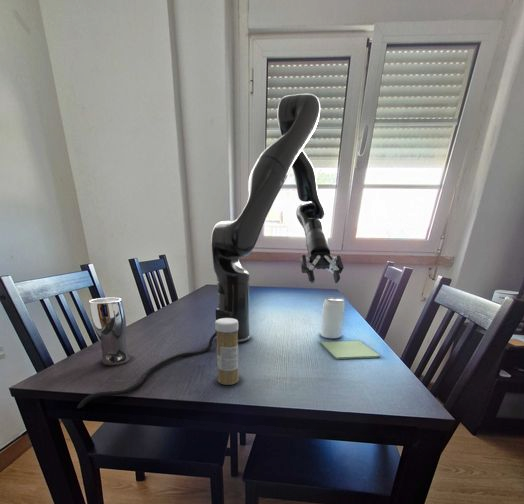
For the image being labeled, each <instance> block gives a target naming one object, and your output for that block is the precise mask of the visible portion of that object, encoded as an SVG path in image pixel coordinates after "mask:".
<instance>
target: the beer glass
mask: <svg viewBox="0 0 524 504" xmlns="http://www.w3.org/2000/svg"><path fill="white" fill-rule="evenodd" d="M88 302H89V311H90V318H91V322H92V326H93V329H94V333H95V334H96V337H97V339H98V341H99V344H100V348H101V352H102V354H101V355H102V356H101V357H102V364H103V365H105V366H118V365H119V366H120V365H123V364H126V363H128V362H130V360H131V357H130V353H129V351H128V348H127V320H126V313H125V308H124V305H123V301H122V298H120V297H99V298H93V299H90V300H89V301H88Z"/></svg>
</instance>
